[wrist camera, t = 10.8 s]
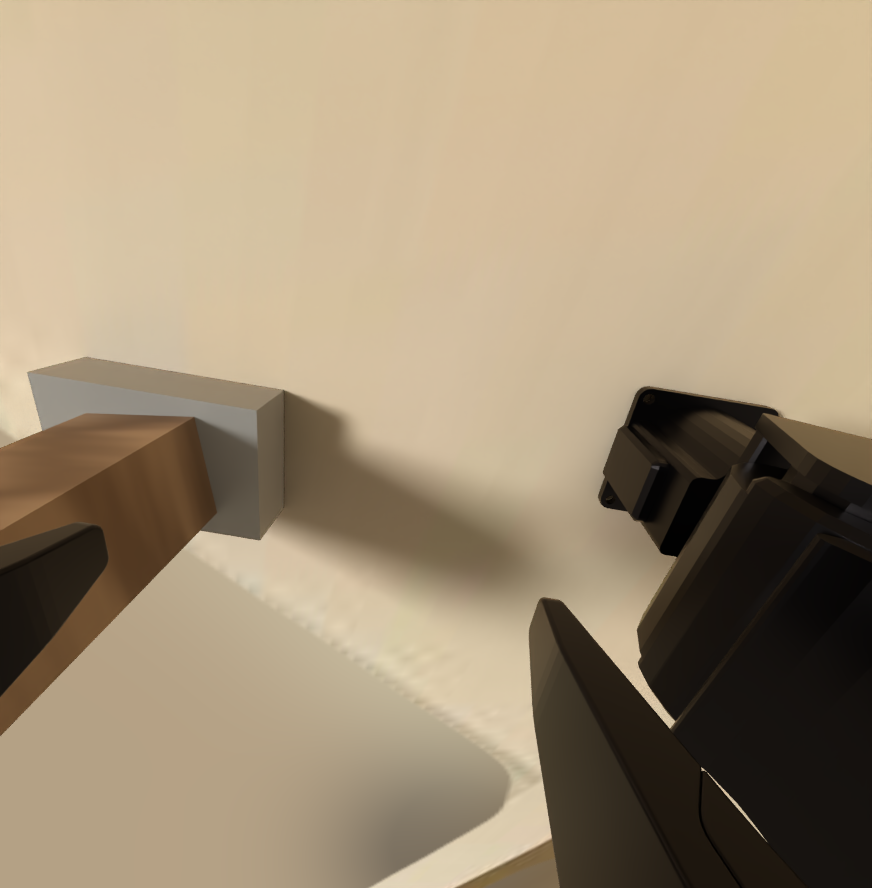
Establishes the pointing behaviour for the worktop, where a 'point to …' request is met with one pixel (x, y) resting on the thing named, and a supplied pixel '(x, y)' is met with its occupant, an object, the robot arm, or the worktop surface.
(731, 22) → the worktop surface
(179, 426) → the walnut block
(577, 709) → the robot arm
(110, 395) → the grey base plate
